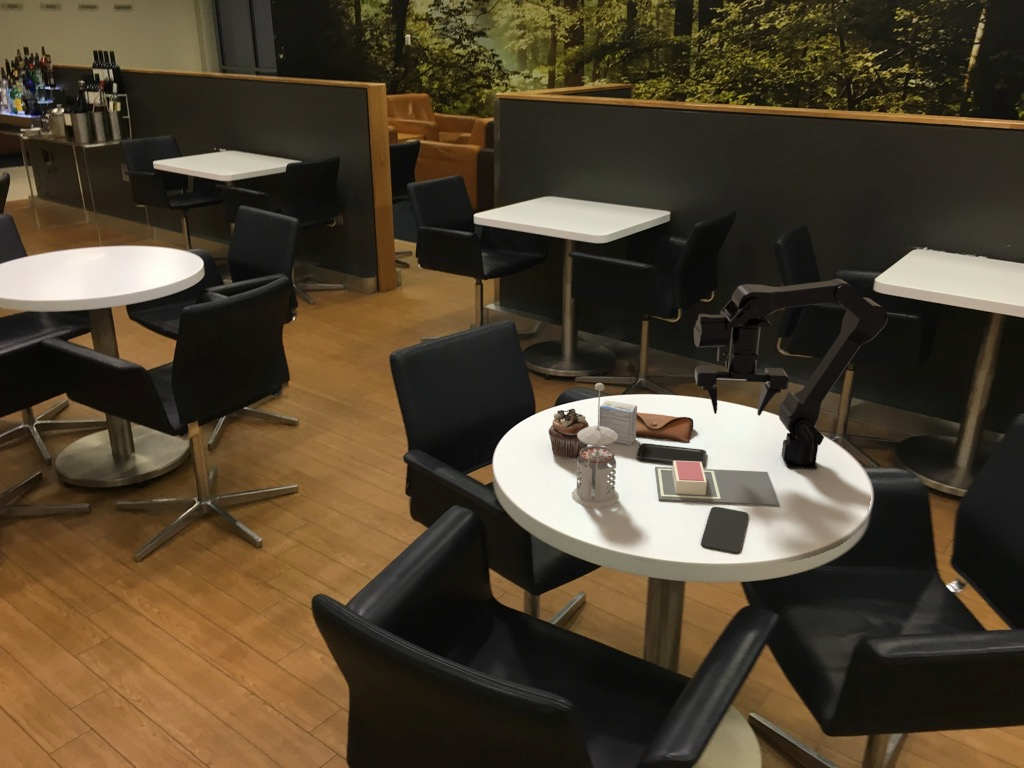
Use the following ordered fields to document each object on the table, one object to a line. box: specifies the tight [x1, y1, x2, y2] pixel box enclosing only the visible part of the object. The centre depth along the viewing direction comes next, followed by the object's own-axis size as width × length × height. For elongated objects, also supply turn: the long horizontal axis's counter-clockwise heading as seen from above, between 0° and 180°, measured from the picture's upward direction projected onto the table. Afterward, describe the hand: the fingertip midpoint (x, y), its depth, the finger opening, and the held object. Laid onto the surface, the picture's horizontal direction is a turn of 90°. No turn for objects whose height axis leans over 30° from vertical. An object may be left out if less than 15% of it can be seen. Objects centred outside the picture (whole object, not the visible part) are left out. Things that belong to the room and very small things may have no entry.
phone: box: [700, 506, 750, 555], centre depth 162 cm, size 7×1×15 cm
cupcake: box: [548, 408, 590, 459], centre depth 191 cm, size 10×10×10 cm
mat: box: [654, 466, 781, 507], centre depth 177 cm, size 24×14×1 cm, turn 84°
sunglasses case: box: [636, 412, 694, 444], centre depth 202 cm, size 18×7×7 cm, turn 76°
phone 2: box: [636, 442, 707, 468], centre depth 190 cm, size 8×1×15 cm
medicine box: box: [599, 400, 638, 446], centre depth 197 cm, size 8×4×9 cm, turn 65°
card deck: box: [672, 461, 707, 495], centre depth 177 cm, size 9×6×3 cm, turn 175°
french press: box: [571, 382, 620, 509], centre depth 169 cm, size 10×12×25 cm
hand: (736, 413), depth 183 cm, fingers open, 9 cm apart
